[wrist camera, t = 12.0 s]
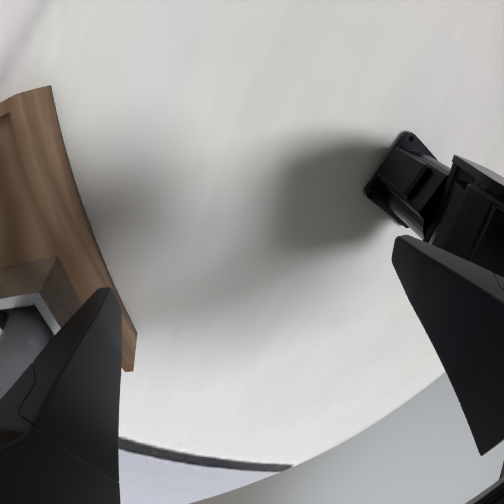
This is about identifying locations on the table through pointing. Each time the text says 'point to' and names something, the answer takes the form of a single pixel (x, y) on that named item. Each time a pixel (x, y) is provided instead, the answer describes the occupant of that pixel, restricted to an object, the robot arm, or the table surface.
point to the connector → (21, 343)
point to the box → (48, 202)
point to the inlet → (39, 291)
